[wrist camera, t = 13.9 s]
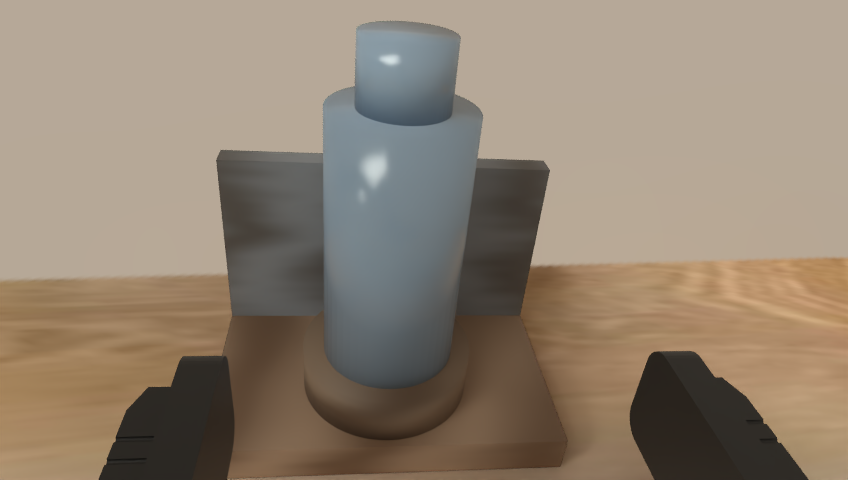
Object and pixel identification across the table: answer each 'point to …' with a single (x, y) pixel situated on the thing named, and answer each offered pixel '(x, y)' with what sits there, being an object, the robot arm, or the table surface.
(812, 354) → the table surface
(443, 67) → the blue grey bottle
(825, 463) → the table surface
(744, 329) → the table surface
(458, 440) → the display stand
